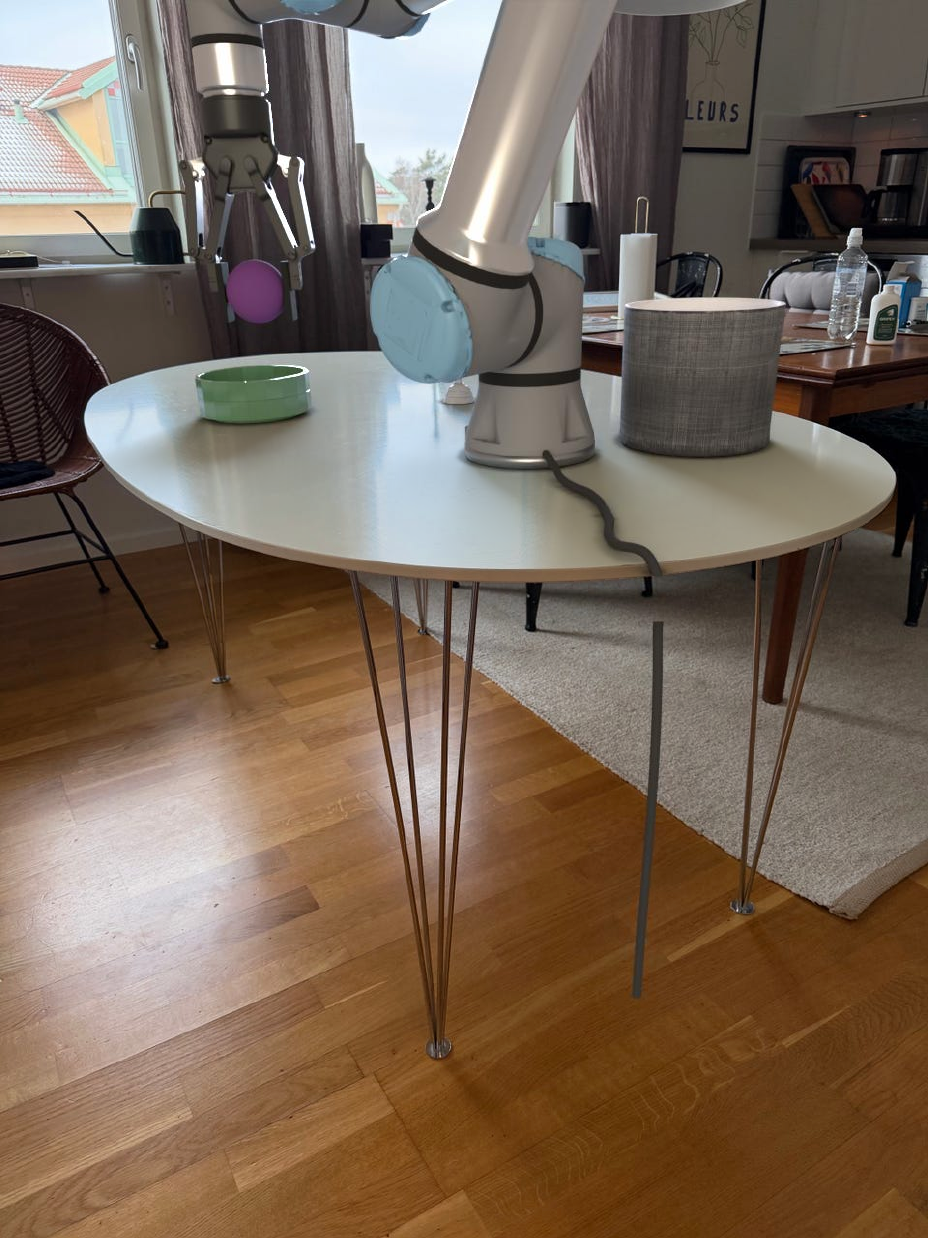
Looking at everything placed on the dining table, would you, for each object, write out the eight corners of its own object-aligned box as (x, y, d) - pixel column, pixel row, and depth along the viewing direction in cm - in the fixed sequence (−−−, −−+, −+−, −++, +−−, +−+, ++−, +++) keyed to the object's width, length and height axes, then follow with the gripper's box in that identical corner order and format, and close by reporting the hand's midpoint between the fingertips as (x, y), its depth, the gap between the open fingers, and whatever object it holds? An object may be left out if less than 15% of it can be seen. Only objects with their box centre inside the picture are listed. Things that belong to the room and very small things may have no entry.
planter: (603, 428, 112) (608, 300, 105) (735, 422, 113) (748, 295, 106) (641, 462, 96) (649, 313, 89) (795, 454, 97) (814, 306, 90)
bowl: (298, 424, 120) (294, 380, 118) (186, 426, 121) (179, 383, 119) (321, 402, 135) (317, 363, 133) (220, 405, 136) (214, 366, 134)
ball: (283, 325, 99) (276, 260, 96) (223, 326, 99) (214, 261, 96) (295, 319, 105) (289, 257, 102) (239, 320, 105) (231, 258, 102)
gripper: (330, 98, 95) (347, 315, 105) (155, 104, 96) (188, 319, 106) (318, 88, 89) (337, 322, 98) (130, 95, 89) (167, 326, 99)
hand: (260, 320), depth 102 cm, fingers closed on ball, 7 cm apart
